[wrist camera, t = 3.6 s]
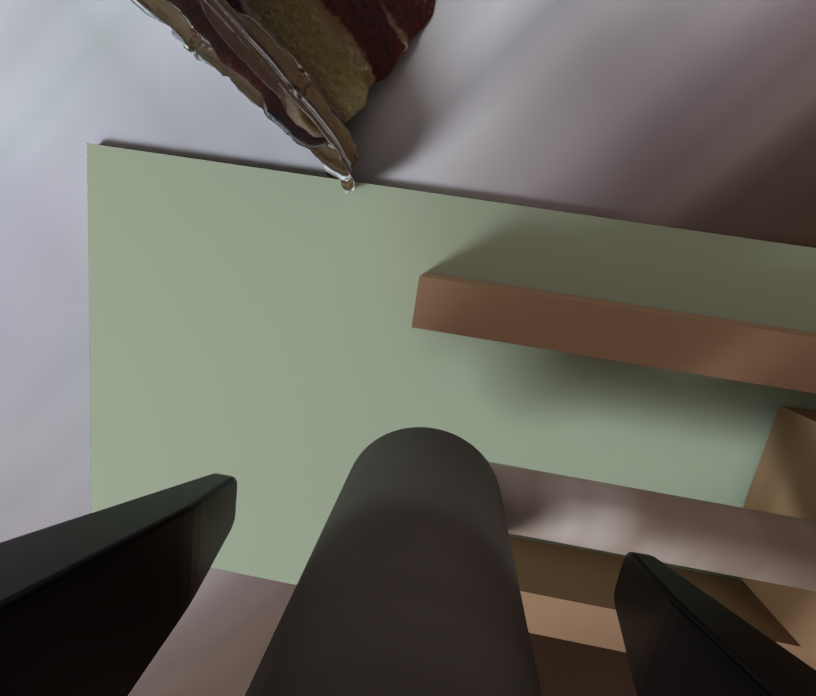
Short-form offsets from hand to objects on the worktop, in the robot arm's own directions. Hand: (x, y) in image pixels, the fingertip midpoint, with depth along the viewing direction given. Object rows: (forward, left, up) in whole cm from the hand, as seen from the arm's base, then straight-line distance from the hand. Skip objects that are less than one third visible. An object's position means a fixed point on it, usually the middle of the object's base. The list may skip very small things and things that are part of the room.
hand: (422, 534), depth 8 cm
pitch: (0, -9, -6) cm, 11 cm away
